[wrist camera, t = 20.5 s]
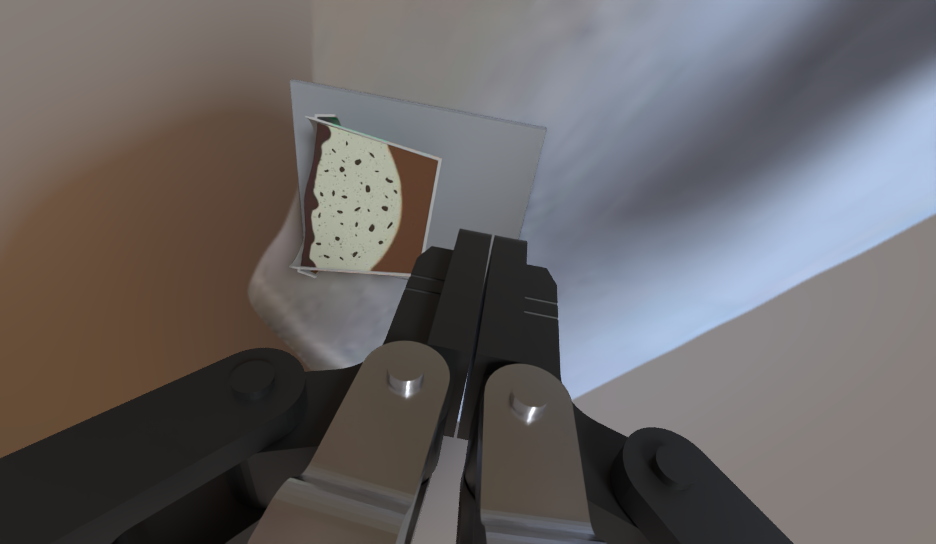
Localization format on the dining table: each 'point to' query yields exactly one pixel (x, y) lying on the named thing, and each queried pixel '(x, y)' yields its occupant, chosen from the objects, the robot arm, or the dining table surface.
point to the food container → (365, 203)
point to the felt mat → (442, 135)
